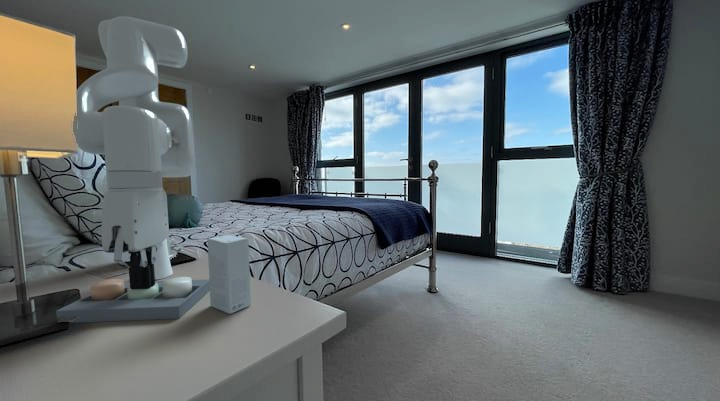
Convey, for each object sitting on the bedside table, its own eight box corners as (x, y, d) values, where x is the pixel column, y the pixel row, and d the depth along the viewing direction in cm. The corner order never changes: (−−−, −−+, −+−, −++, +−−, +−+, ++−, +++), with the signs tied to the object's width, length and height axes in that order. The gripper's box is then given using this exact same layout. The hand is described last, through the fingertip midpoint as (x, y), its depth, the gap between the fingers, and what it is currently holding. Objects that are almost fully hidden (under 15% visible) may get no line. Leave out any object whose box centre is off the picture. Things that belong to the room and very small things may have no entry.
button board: (115, 292, 57) (114, 282, 57) (211, 289, 58) (210, 279, 58) (57, 323, 45) (56, 310, 45) (179, 318, 47) (178, 306, 46)
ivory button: (172, 289, 54) (171, 277, 54) (196, 288, 54) (196, 276, 54) (157, 299, 50) (156, 286, 50) (184, 298, 50) (183, 285, 50)
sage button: (139, 295, 54) (138, 282, 54) (164, 294, 54) (163, 281, 54) (121, 306, 49) (120, 292, 49) (149, 305, 50) (148, 291, 49)
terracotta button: (105, 291, 53) (104, 279, 53) (130, 291, 54) (129, 278, 53) (84, 302, 49) (83, 288, 49) (112, 301, 49) (111, 287, 49)
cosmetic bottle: (140, 275, 67) (133, 178, 65) (171, 270, 70) (166, 178, 68) (140, 283, 62) (133, 178, 60) (174, 277, 66) (168, 178, 64)
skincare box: (251, 305, 51) (249, 238, 50) (229, 315, 48) (226, 243, 47) (231, 297, 55) (229, 234, 53) (209, 306, 51) (205, 238, 50)
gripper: (141, 182, 57) (147, 274, 58) (72, 183, 42) (83, 307, 43) (181, 181, 58) (187, 272, 59) (128, 183, 43) (136, 304, 44)
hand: (143, 287), depth 51 cm, fingers closed
